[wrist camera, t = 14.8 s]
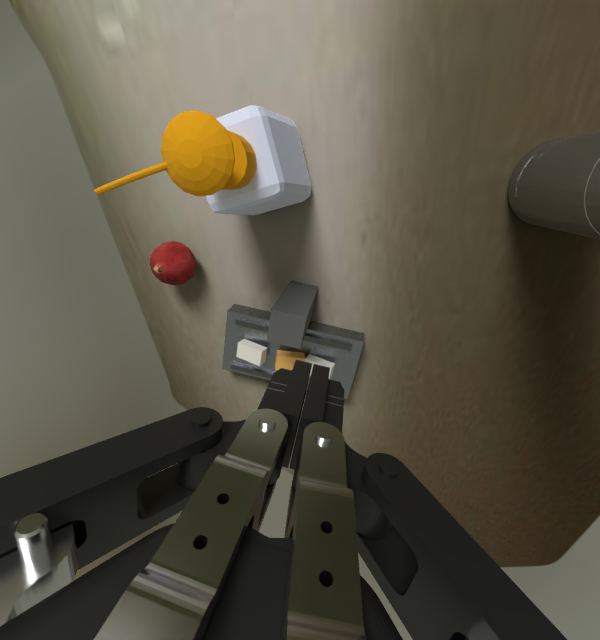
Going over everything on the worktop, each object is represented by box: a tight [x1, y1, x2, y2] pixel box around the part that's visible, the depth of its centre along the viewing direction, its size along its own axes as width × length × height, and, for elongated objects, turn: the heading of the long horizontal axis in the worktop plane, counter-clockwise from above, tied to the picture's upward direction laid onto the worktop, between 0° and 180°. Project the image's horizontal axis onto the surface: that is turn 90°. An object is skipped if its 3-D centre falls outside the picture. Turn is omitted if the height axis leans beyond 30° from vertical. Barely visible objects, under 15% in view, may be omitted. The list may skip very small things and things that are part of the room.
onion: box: [150, 241, 196, 285], centre depth 45 cm, size 6×6×8 cm
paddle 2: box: [305, 354, 335, 379], centre depth 47 cm, size 4×2×2 cm, turn 79°
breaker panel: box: [222, 304, 364, 399], centre depth 49 cm, size 20×10×4 cm, turn 80°
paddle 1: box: [236, 339, 267, 366], centre depth 47 cm, size 4×2×2 cm, turn 79°
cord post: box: [267, 281, 318, 349], centre depth 42 cm, size 4×4×12 cm
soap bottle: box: [95, 105, 312, 215], centre depth 32 cm, size 10×14×22 cm
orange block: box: [275, 350, 305, 370], centre depth 47 cm, size 4×2×2 cm, turn 80°
